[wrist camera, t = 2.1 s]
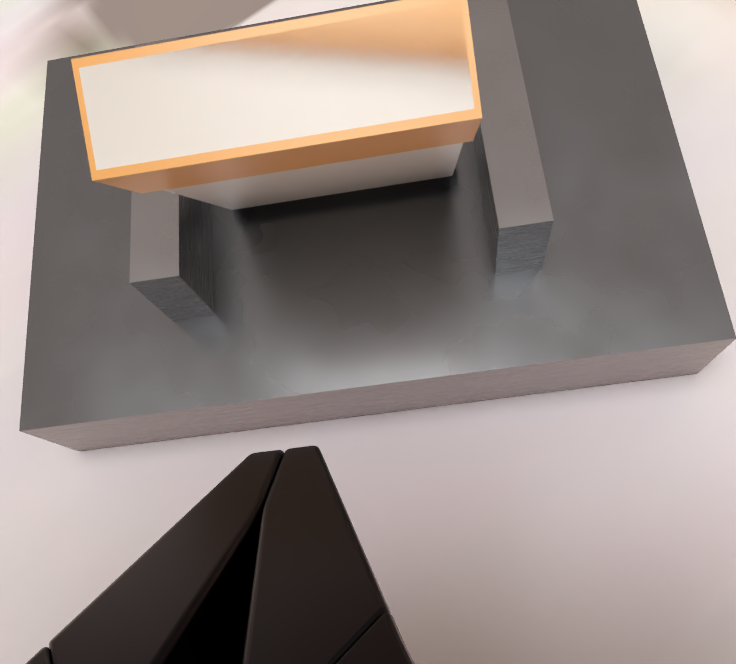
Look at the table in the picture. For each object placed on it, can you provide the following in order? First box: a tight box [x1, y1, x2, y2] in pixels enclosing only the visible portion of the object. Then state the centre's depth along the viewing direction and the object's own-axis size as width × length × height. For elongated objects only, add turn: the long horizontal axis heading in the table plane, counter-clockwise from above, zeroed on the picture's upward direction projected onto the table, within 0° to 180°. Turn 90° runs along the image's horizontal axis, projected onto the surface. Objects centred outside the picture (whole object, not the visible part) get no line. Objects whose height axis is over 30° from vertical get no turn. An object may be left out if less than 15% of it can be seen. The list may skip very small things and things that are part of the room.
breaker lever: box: [71, 0, 482, 210], centre depth 15 cm, size 2×6×8 cm, turn 95°
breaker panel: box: [19, 0, 736, 451], centre depth 20 cm, size 12×18×6 cm, turn 96°
